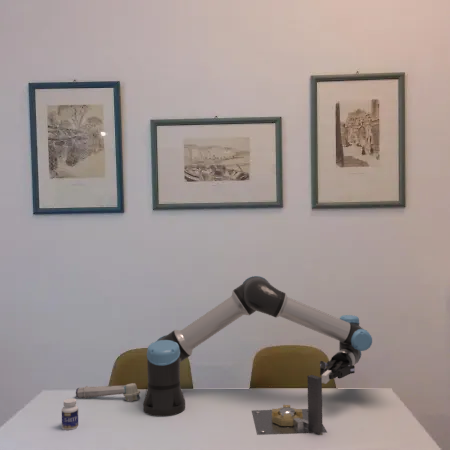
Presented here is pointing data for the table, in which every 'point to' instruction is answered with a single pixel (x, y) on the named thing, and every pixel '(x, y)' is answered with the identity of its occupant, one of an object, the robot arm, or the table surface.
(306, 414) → the flange
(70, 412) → the pill bottle
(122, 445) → the table surface
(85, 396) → the grey elongated piece
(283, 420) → the grey and tan piece
